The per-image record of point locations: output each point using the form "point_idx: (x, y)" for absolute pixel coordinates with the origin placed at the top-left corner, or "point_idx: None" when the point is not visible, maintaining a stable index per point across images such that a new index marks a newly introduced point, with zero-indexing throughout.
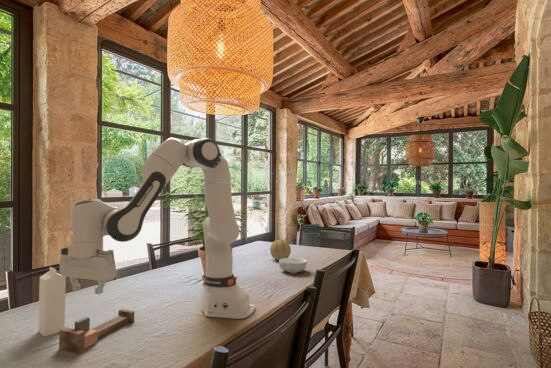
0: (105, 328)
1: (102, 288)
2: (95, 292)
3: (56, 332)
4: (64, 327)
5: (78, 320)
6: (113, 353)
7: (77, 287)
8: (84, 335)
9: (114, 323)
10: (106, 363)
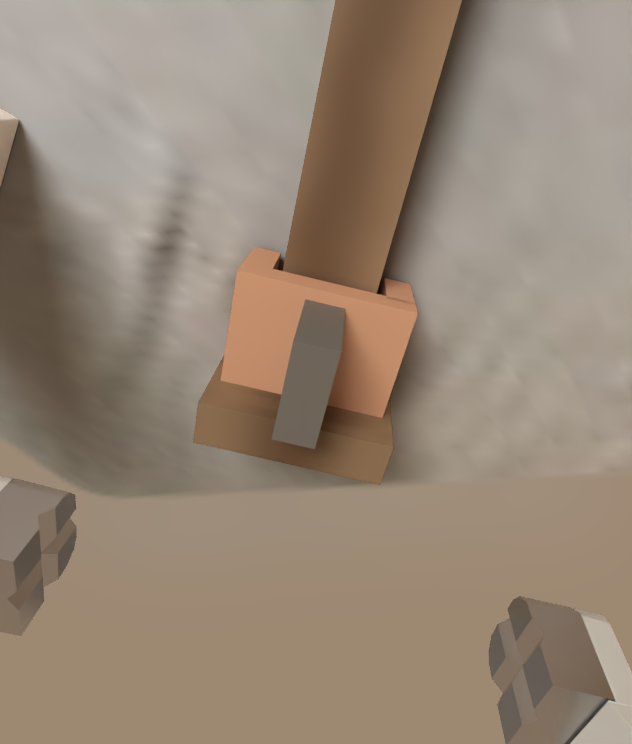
0: (411, 171)
1: (629, 692)
2: (501, 674)
3: (1, 171)
4: (4, 120)
5: (282, 414)
6: (583, 387)
7: (41, 579)
8: (391, 431)
9: (442, 43)
10: (584, 474)
